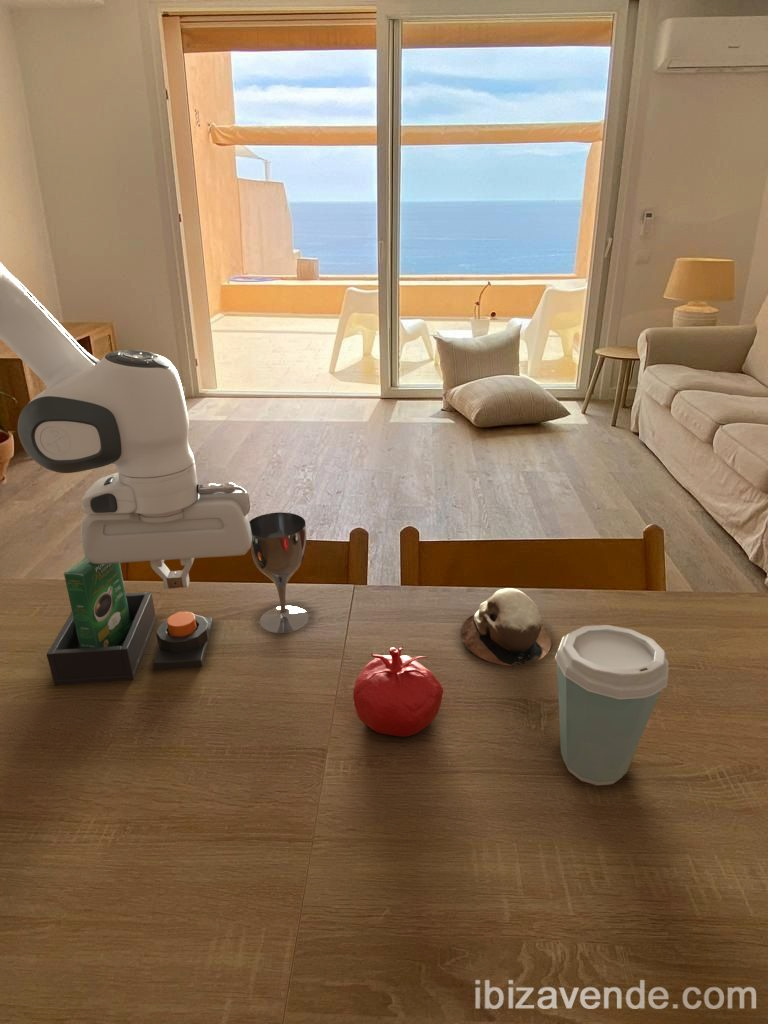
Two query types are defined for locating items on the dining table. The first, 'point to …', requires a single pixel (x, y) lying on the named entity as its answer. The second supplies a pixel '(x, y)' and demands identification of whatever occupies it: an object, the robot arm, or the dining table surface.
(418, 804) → the dining table surface
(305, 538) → the wine glass
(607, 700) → the disposable coffee cup
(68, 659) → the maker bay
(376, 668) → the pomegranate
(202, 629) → the panel
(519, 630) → the skull
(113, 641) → the coffee box
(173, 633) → the button
